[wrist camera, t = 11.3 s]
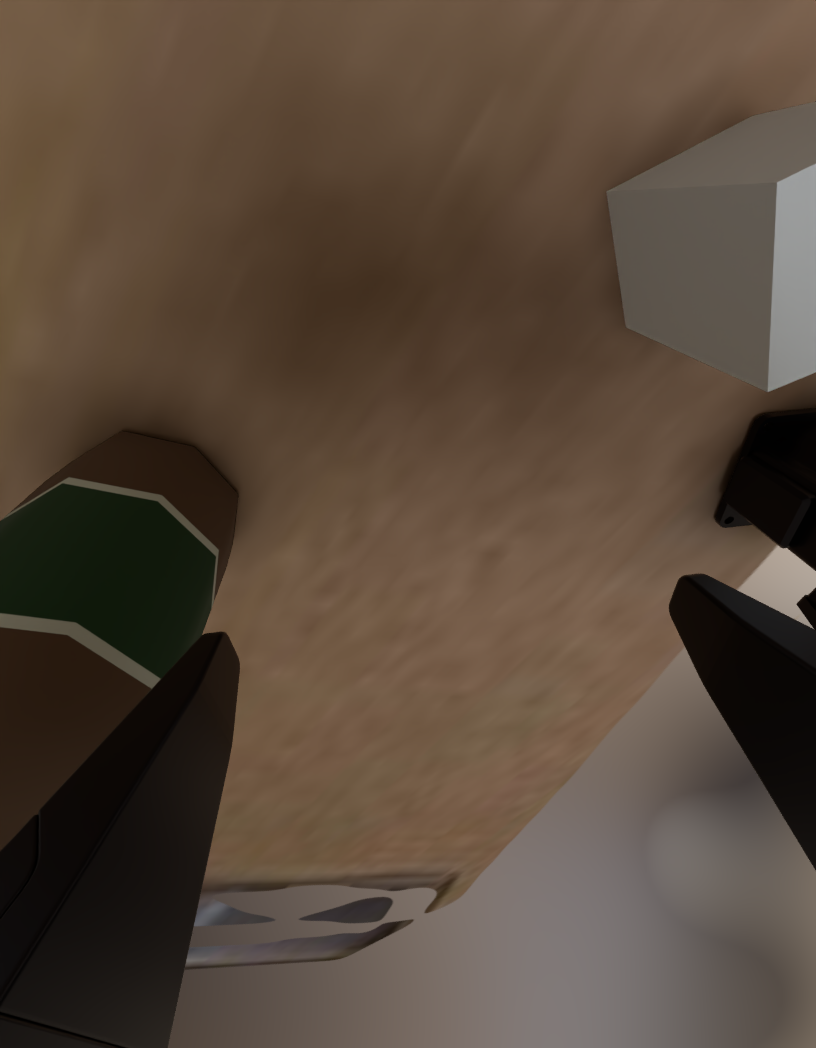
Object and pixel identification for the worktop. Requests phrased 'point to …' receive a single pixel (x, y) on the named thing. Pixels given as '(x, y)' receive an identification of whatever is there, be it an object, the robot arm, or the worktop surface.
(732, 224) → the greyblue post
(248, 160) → the worktop surface
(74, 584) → the beer bottle
